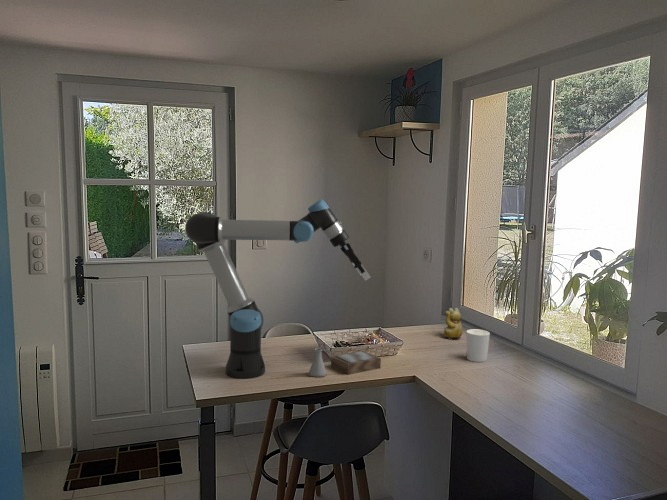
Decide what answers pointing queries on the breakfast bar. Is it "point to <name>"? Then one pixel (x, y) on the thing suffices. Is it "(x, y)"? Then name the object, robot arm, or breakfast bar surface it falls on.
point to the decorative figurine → (453, 324)
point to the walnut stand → (355, 362)
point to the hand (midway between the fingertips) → (365, 276)
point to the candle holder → (477, 345)
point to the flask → (317, 365)
